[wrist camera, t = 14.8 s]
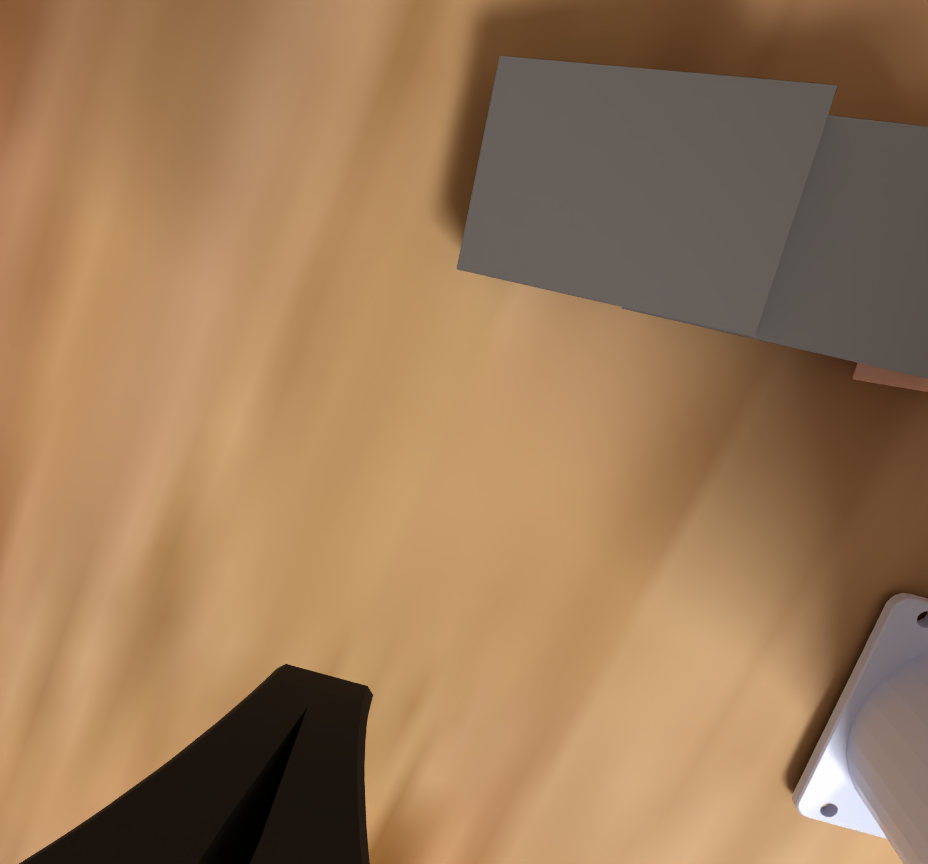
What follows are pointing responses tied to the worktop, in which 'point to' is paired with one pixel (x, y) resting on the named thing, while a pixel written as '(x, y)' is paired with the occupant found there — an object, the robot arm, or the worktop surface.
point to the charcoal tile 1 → (642, 185)
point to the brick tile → (889, 377)
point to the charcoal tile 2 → (857, 251)
